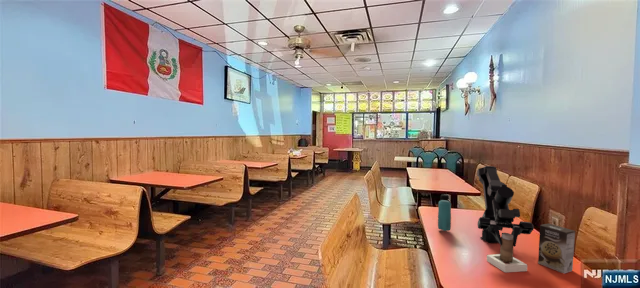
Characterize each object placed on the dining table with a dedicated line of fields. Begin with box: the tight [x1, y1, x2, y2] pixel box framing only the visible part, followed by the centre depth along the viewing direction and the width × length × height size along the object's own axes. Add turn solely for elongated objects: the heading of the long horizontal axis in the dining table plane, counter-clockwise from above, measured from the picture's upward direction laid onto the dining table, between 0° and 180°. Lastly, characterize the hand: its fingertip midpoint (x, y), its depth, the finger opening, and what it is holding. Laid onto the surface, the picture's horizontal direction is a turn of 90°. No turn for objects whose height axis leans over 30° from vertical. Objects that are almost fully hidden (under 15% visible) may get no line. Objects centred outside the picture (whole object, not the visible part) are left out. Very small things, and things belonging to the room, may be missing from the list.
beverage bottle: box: [437, 193, 452, 232], centre depth 145 cm, size 6×7×20 cm
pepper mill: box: [499, 232, 514, 264], centre depth 108 cm, size 4×4×10 cm
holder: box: [486, 253, 528, 273], centre depth 109 cm, size 10×10×2 cm
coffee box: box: [537, 223, 576, 274], centre depth 107 cm, size 9×6×16 cm
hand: (507, 245), depth 107 cm, fingers closed on pepper mill, 4 cm apart
